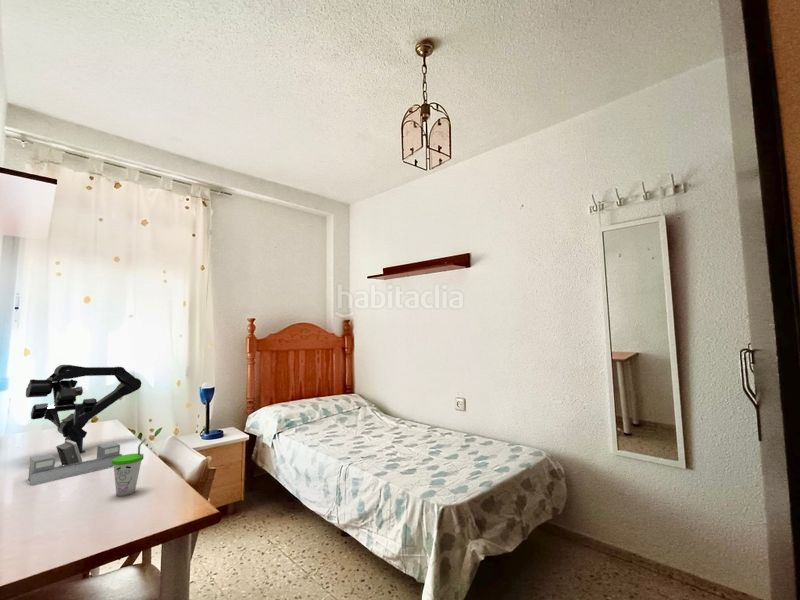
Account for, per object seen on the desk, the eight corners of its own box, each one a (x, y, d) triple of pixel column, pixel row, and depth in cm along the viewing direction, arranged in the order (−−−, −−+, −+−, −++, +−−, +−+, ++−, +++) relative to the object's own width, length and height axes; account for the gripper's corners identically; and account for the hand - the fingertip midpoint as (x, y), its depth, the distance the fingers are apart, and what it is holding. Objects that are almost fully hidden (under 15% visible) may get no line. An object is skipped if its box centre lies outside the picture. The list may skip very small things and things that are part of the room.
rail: (29, 483, 119) (30, 472, 119) (119, 463, 138) (120, 453, 138) (31, 485, 118) (31, 474, 118) (121, 464, 136) (122, 454, 137)
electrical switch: (83, 466, 136) (82, 440, 136) (65, 472, 131) (64, 445, 131) (74, 462, 141) (73, 437, 141) (56, 467, 136) (55, 442, 136)
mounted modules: (28, 479, 123) (30, 457, 124) (112, 460, 141) (113, 441, 142) (32, 484, 119) (34, 461, 120) (119, 464, 137) (120, 444, 138)
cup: (103, 500, 105) (107, 445, 107) (116, 489, 113) (120, 439, 115) (135, 496, 107) (138, 443, 109) (146, 486, 115) (148, 437, 117)
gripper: (35, 382, 139) (38, 416, 131) (97, 378, 154) (103, 408, 146) (29, 402, 143) (32, 435, 135) (90, 396, 158) (96, 426, 150)
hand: (67, 425), depth 142 cm, fingers open, 4 cm apart
